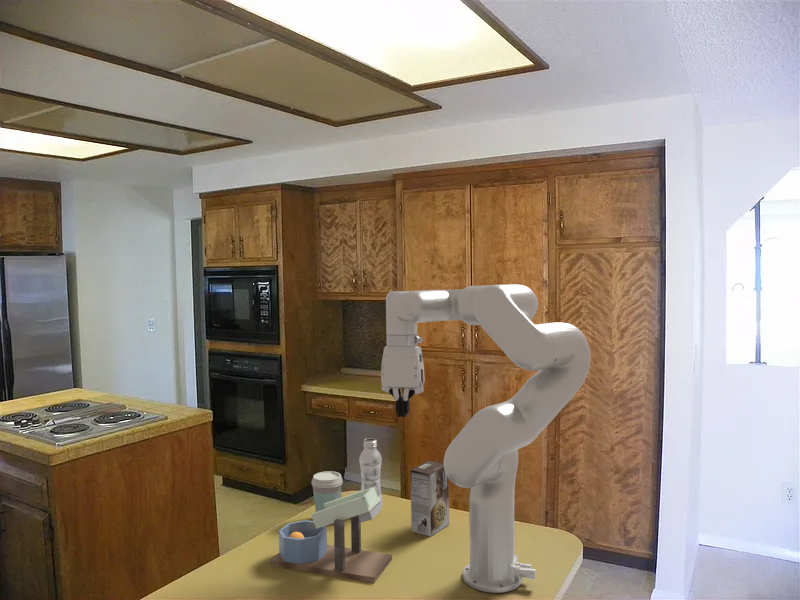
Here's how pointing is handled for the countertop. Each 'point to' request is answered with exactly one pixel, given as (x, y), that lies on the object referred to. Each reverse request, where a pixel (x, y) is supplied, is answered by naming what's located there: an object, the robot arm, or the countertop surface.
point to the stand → (344, 557)
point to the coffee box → (429, 498)
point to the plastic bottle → (371, 467)
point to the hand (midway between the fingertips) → (402, 415)
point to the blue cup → (302, 542)
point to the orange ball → (296, 535)
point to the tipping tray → (349, 508)
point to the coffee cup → (326, 488)
